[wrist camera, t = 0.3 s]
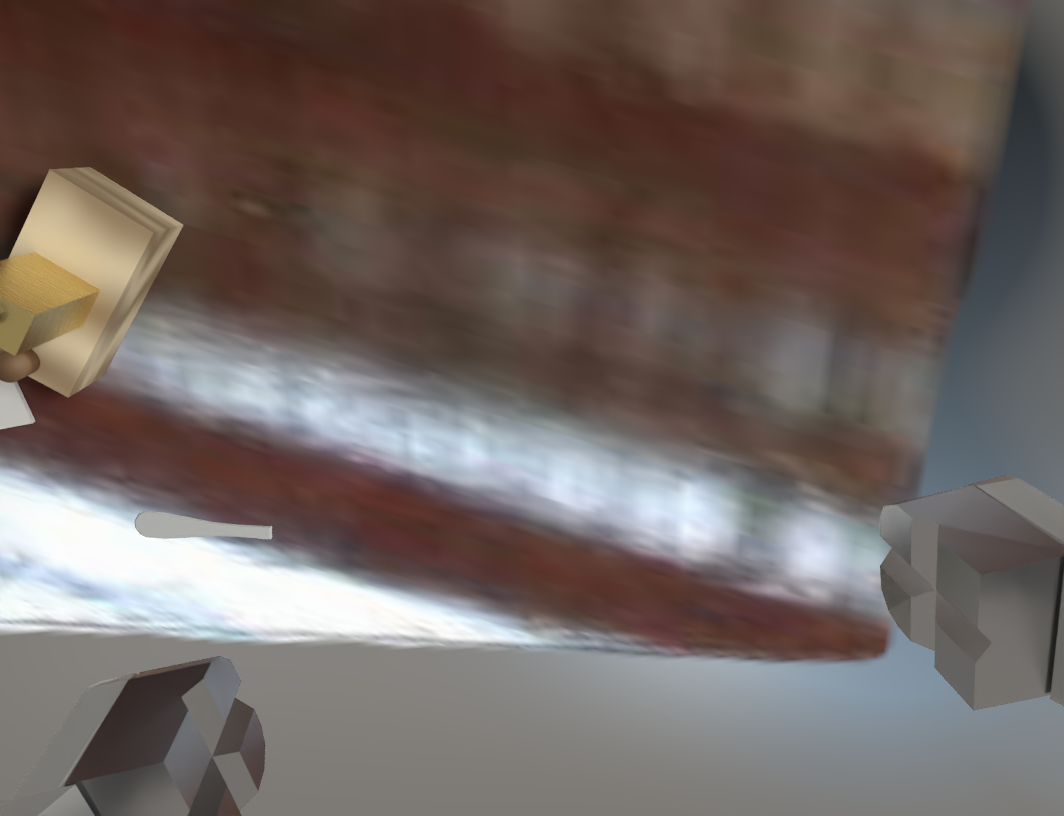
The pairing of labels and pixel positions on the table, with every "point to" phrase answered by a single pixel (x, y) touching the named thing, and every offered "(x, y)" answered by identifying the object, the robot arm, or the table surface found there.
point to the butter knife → (193, 527)
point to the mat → (13, 406)
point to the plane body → (90, 270)
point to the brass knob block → (40, 302)
